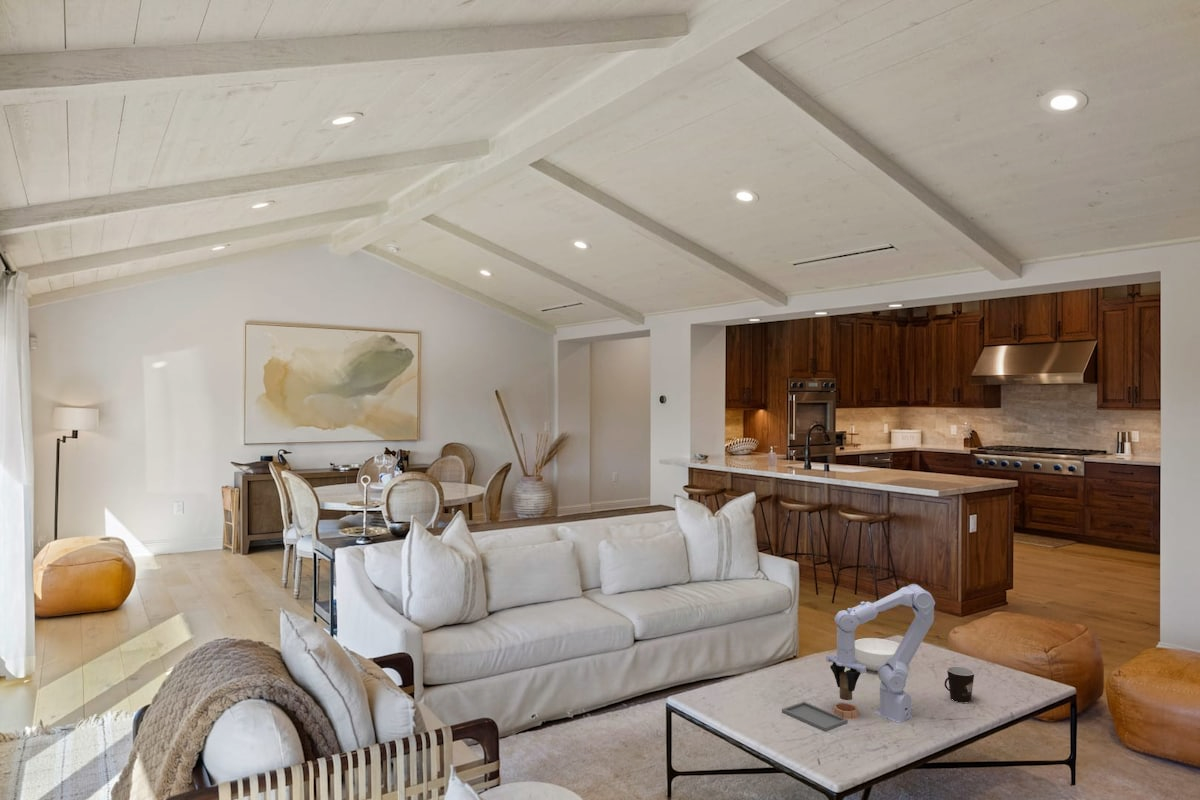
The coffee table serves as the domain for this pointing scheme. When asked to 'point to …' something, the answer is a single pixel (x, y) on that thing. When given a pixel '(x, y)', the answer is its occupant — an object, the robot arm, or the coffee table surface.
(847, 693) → the walnut peg
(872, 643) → the bowl
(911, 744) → the coffee table surface
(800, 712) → the charcoal tray
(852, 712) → the terracotta cup
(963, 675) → the coffee mug
